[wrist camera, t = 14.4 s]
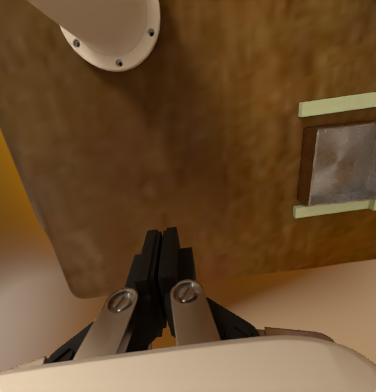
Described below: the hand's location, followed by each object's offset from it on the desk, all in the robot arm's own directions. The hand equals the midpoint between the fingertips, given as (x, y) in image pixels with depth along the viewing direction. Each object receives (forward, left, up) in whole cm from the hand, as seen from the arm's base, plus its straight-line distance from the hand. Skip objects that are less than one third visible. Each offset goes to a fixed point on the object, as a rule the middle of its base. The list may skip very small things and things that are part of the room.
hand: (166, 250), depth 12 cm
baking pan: (+3, +27, -23) cm, 35 cm away
